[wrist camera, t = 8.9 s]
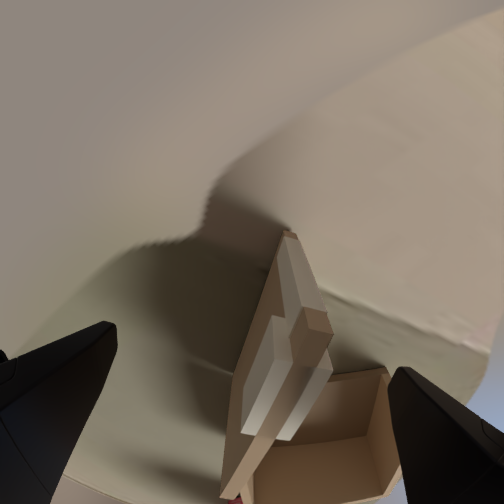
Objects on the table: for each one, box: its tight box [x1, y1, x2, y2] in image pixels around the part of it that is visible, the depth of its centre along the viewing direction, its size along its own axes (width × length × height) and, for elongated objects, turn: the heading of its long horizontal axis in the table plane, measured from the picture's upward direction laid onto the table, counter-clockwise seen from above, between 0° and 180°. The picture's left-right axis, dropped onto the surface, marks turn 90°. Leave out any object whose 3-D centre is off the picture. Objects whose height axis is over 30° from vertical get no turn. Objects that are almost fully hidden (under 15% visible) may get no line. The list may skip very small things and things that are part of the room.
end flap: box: [219, 230, 334, 500], centre depth 12 cm, size 9×2×8 cm, turn 164°
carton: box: [240, 367, 402, 504], centre depth 15 cm, size 9×7×6 cm
